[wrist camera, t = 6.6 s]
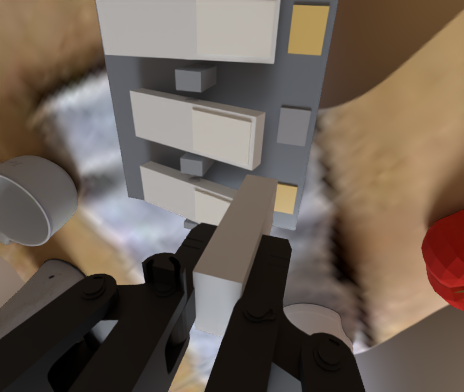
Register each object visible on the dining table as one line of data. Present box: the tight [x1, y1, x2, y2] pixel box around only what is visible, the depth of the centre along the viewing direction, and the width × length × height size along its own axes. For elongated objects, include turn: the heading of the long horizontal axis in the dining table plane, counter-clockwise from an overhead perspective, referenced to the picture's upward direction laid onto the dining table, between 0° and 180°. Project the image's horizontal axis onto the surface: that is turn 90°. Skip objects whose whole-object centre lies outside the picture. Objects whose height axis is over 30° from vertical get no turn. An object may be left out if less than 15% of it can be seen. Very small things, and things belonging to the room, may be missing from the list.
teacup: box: [0, 155, 78, 246], centre depth 40 cm, size 14×11×8 cm
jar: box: [283, 304, 353, 353], centre depth 36 cm, size 12×10×15 cm
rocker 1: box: [96, 0, 280, 64], centre depth 20 cm, size 4×12×2 cm, turn 88°
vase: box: [0, 259, 85, 339], centre depth 43 cm, size 13×14×28 cm
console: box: [95, 0, 338, 230], centre depth 27 cm, size 21×19×8 cm
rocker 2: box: [130, 88, 265, 170], centre depth 24 cm, size 4×12×2 cm, turn 88°
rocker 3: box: [140, 161, 238, 226], centre depth 28 cm, size 4×12×2 cm, turn 88°
